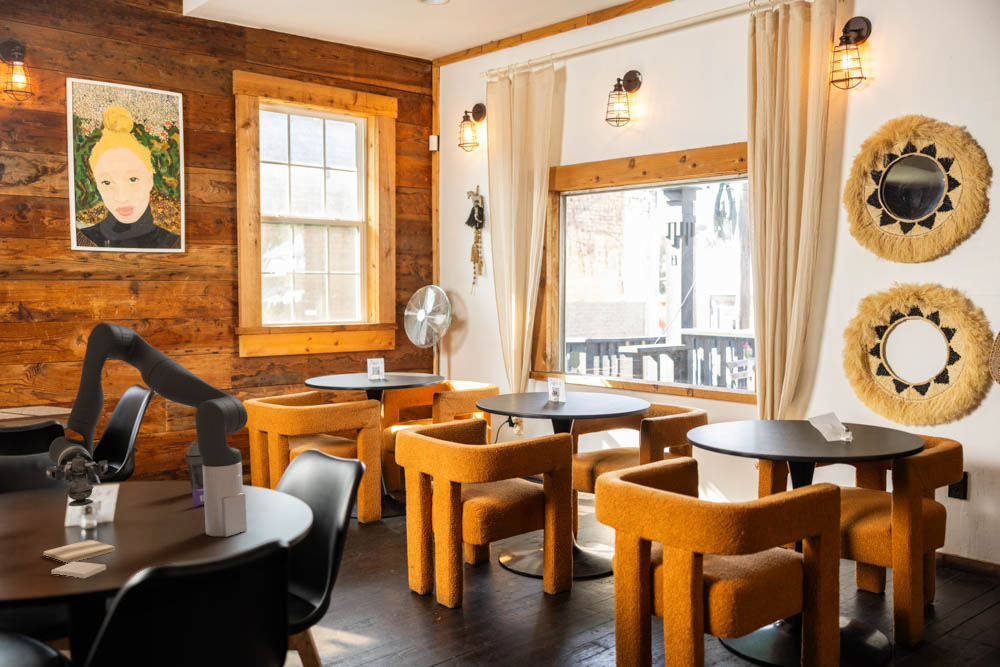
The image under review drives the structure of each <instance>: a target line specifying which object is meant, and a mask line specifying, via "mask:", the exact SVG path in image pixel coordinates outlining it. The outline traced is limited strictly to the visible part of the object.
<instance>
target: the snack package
mask: <svg viewBox="0 0 1000 667" xmlns="http://www.w3.org/2000/svg"><path fill="white" fill-rule="evenodd" d="M191 493H192V494H191V495H192V508H193V507H194V508H197V507H199V506H201V505H202V506H203V505H204V489H199V490H192V489H191ZM196 506H197V507H196Z"/></svg>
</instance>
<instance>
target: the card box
mask: <svg viewBox="0 0 1000 667" xmlns="http://www.w3.org/2000/svg"><path fill="white" fill-rule="evenodd" d="M106 570H107V565H106V564H100V563H93V562H83V561H82V562H81V561H77V562H75V561H74V562H71V563H68V564H67V563H65V564H64V565H61V566H58V567H56V568H54V569H51V575H52V574H60V575H67V576H66V577H68V576H74V577H73V578H77V577H79V578H78V579H86V578H88V577H91V576H94V575H96V574H98V573H100V572H103V571H106Z"/></svg>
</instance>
